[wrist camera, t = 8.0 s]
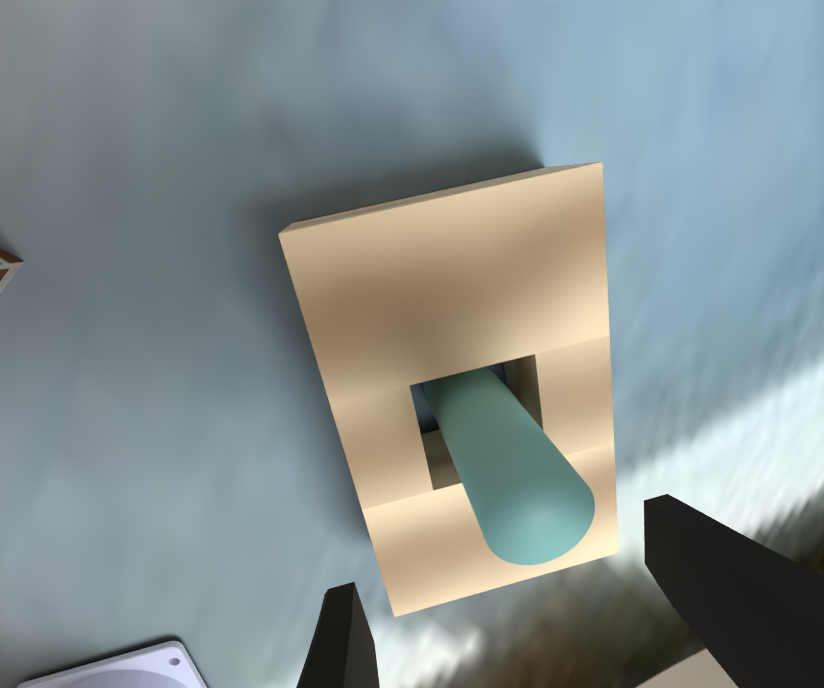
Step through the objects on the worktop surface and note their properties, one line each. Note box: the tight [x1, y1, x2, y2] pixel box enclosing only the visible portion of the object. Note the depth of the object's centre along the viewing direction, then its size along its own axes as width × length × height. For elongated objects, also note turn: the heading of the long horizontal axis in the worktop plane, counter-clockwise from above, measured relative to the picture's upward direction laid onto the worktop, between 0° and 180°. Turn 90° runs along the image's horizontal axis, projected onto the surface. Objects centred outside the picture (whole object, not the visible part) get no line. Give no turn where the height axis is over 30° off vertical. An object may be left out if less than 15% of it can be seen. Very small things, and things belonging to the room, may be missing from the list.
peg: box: [423, 366, 595, 565], centre depth 16 cm, size 3×3×9 cm
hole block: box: [278, 162, 619, 617], centre depth 18 cm, size 16×10×4 cm, turn 11°
